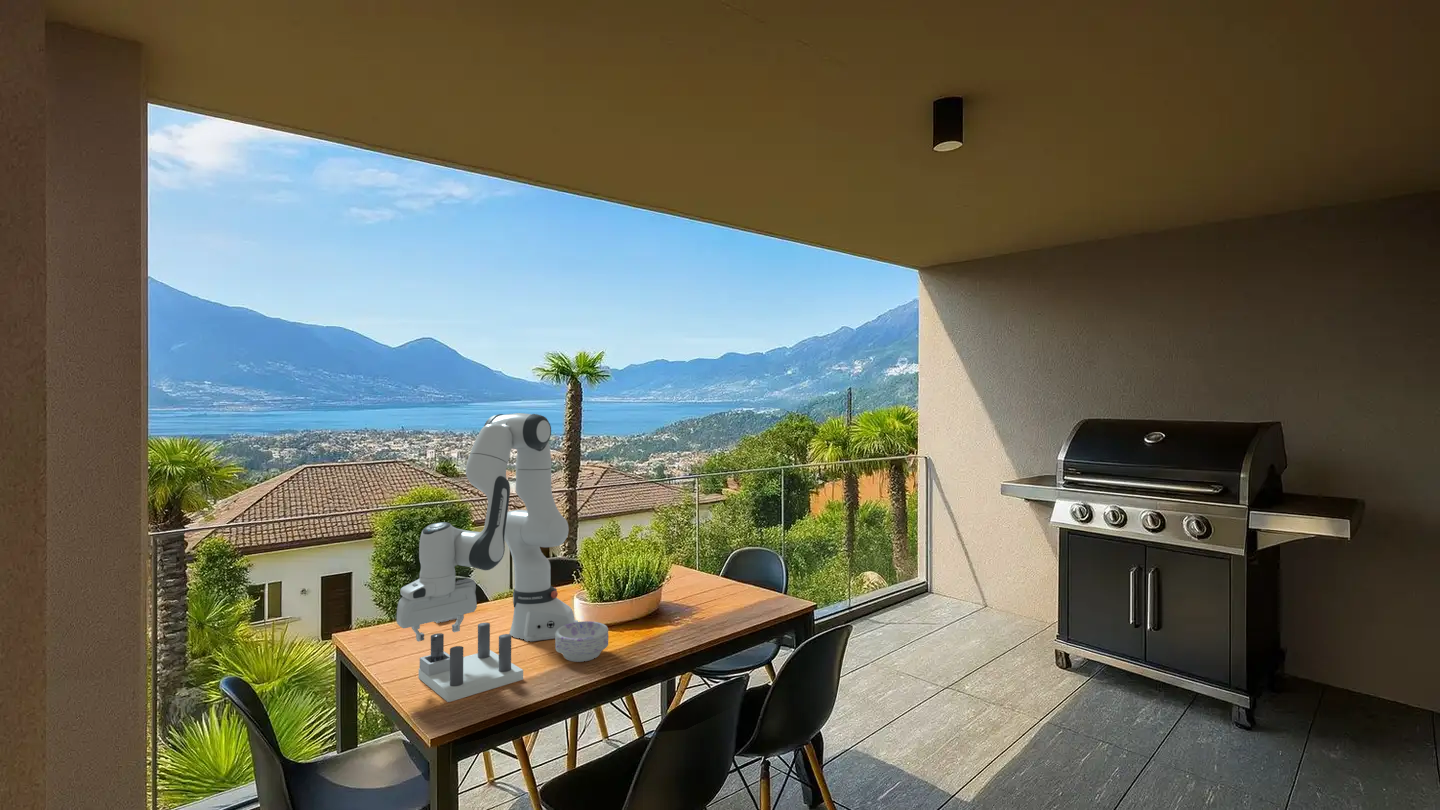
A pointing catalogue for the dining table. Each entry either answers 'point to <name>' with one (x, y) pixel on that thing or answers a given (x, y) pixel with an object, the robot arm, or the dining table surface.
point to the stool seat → (471, 668)
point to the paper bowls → (581, 640)
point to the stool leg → (437, 647)
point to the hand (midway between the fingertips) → (438, 635)
